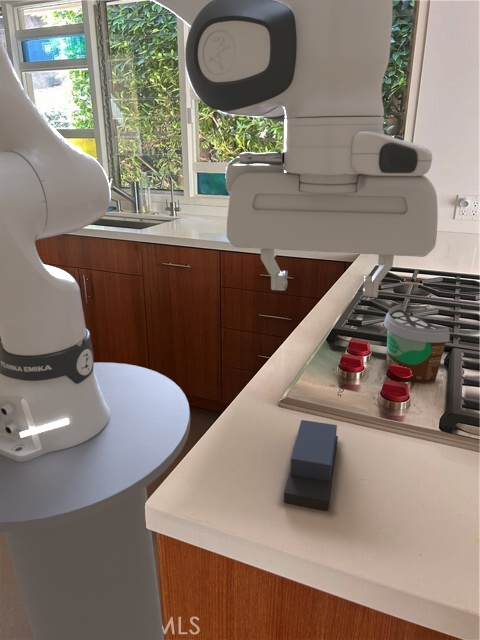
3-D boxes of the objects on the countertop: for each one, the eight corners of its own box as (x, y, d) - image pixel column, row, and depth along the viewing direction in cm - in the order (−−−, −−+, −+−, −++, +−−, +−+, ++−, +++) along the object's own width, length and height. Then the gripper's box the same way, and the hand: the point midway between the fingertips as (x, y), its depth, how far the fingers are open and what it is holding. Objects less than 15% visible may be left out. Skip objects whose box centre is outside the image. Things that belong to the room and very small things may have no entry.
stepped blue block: (328, 511, 51) (330, 483, 49) (283, 502, 52) (284, 475, 51) (337, 444, 62) (339, 420, 60) (299, 438, 63) (300, 415, 61)
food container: (364, 360, 84) (369, 308, 80) (392, 354, 86) (399, 303, 82) (411, 393, 73) (419, 335, 69) (441, 385, 75) (451, 329, 71)
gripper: (215, 154, 43) (219, 294, 48) (452, 153, 38) (428, 310, 43) (234, 150, 49) (236, 276, 54) (442, 150, 43) (422, 289, 49)
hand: (323, 292), depth 48 cm, fingers open, 8 cm apart
